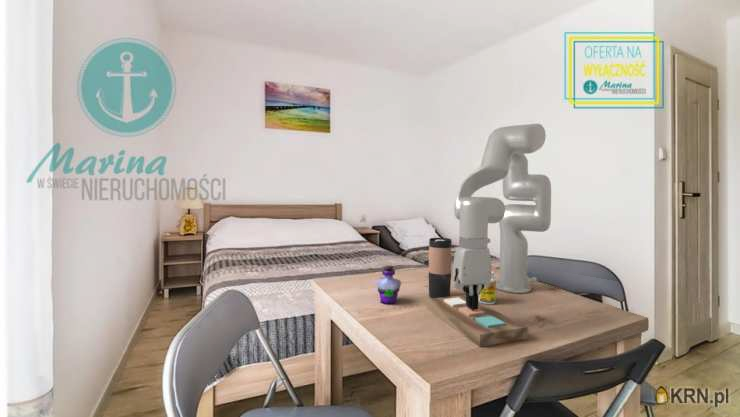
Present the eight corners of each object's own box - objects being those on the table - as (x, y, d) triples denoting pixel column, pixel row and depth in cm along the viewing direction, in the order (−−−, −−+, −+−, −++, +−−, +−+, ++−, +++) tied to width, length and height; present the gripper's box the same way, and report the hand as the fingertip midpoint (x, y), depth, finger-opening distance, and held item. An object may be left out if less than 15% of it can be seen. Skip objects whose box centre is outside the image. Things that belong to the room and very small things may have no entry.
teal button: (491, 326, 92) (491, 315, 92) (504, 334, 87) (505, 323, 87) (474, 329, 90) (475, 317, 90) (487, 337, 85) (487, 325, 85)
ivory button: (458, 306, 107) (458, 297, 107) (468, 312, 102) (468, 302, 102) (443, 308, 106) (443, 299, 105) (452, 314, 101) (452, 304, 100)
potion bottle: (381, 307, 108) (381, 269, 107) (371, 299, 116) (371, 264, 115) (406, 304, 111) (406, 267, 110) (394, 296, 119) (394, 262, 118)
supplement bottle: (477, 303, 112) (478, 272, 111) (477, 298, 117) (478, 269, 116) (496, 305, 110) (497, 274, 109) (495, 300, 115) (496, 270, 115)
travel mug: (449, 293, 123) (450, 237, 121) (452, 300, 115) (453, 241, 114) (427, 292, 123) (428, 237, 122) (429, 299, 116) (429, 240, 114)
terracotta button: (473, 316, 100) (473, 305, 99) (484, 322, 95) (485, 312, 95) (458, 318, 98) (458, 307, 98) (468, 325, 93) (469, 314, 93)
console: (465, 304, 111) (465, 294, 111) (527, 338, 86) (527, 327, 86) (426, 308, 107) (426, 299, 107) (479, 346, 81) (480, 334, 81)
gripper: (487, 239, 101) (486, 300, 102) (442, 242, 96) (441, 306, 98) (504, 244, 94) (503, 309, 95) (457, 247, 89) (456, 316, 91)
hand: (472, 307), depth 96 cm, fingers closed
